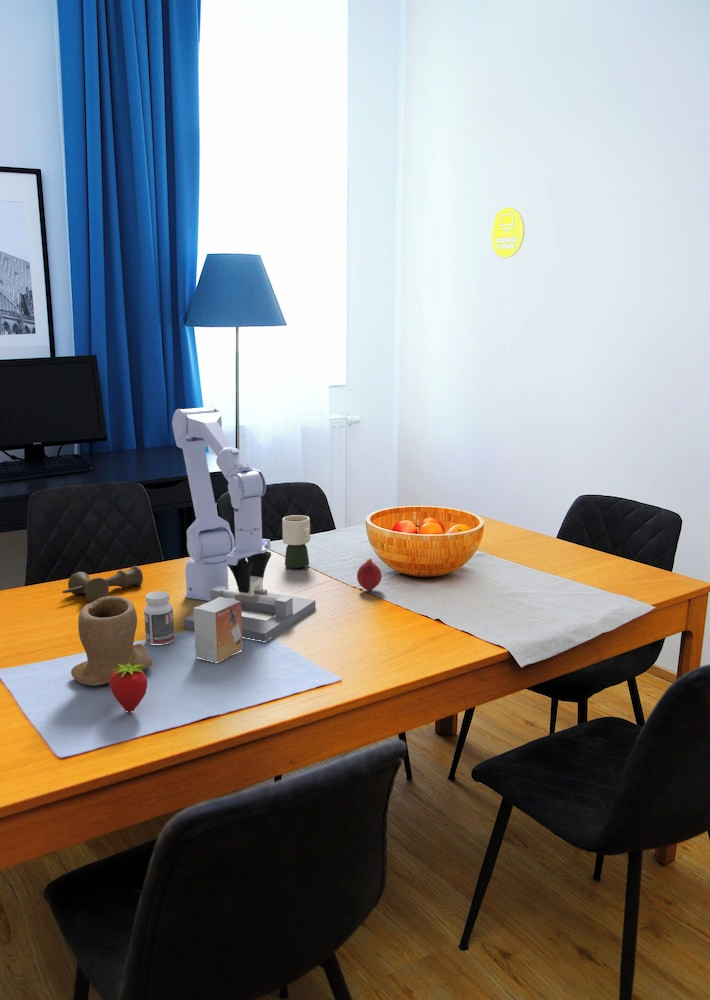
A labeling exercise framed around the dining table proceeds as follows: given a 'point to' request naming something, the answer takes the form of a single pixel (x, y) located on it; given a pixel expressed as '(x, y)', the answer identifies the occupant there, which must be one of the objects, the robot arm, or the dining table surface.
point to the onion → (369, 575)
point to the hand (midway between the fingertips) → (250, 588)
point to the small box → (218, 629)
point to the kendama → (102, 583)
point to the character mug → (296, 540)
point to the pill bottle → (158, 618)
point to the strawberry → (128, 685)
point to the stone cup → (108, 640)
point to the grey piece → (280, 605)
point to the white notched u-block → (252, 590)
